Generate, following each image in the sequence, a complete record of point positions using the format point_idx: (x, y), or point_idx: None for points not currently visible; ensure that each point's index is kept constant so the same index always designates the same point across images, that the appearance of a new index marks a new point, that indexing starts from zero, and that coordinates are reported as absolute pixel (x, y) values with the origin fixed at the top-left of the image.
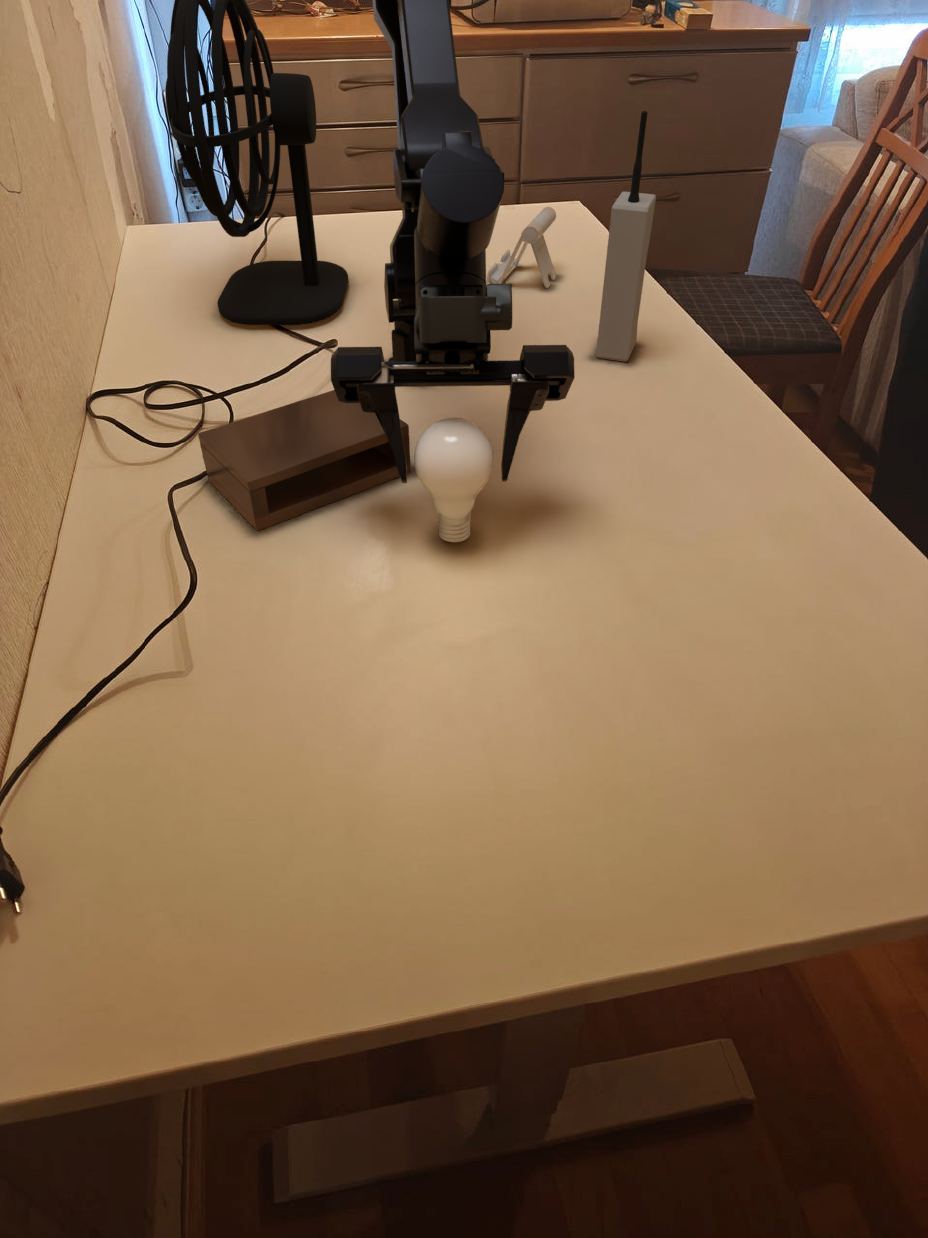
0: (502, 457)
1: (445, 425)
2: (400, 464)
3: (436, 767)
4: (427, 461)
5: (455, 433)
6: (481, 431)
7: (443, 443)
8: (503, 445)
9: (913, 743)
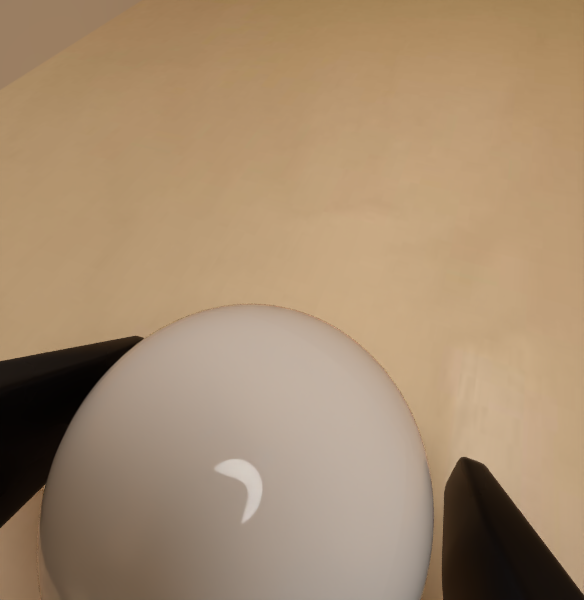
0: (94, 377)
1: (243, 504)
2: (504, 509)
3: (447, 77)
4: (398, 390)
5: (223, 387)
6: (66, 433)
7: (316, 368)
8: (38, 443)
9: (70, 47)
